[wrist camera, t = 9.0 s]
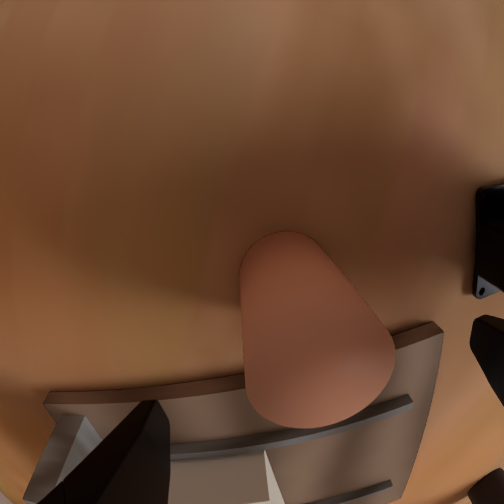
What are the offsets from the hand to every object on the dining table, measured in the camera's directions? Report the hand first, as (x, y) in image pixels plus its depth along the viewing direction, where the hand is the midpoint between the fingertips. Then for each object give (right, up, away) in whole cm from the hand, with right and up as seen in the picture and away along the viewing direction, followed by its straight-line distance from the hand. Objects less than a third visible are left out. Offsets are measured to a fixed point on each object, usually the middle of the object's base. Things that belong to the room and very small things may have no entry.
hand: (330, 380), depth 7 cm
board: (-1, -13, +12) cm, 18 cm away
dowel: (-1, +2, +7) cm, 7 cm away
